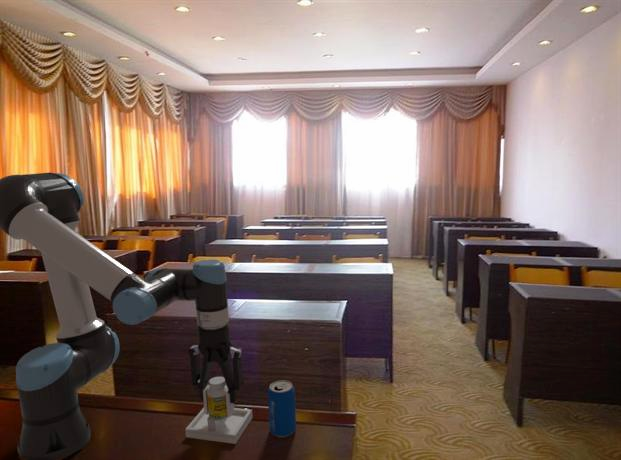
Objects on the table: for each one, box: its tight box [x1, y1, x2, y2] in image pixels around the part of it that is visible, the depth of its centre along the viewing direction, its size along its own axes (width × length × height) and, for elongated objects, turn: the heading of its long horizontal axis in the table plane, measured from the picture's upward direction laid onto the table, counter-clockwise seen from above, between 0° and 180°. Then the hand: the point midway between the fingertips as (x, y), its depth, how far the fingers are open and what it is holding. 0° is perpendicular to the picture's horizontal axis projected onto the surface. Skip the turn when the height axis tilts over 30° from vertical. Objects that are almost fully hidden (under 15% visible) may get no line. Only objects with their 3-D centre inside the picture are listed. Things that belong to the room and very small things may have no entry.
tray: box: [185, 407, 253, 445], centre depth 113 cm, size 13×11×5 cm
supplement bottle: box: [207, 376, 228, 421], centre depth 112 cm, size 5×5×10 cm
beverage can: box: [267, 379, 297, 438], centre depth 110 cm, size 6×6×12 cm
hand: (219, 412), depth 113 cm, fingers closed on supplement bottle, 5 cm apart
